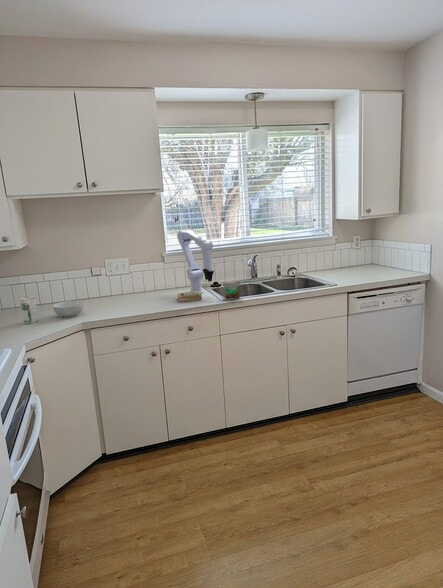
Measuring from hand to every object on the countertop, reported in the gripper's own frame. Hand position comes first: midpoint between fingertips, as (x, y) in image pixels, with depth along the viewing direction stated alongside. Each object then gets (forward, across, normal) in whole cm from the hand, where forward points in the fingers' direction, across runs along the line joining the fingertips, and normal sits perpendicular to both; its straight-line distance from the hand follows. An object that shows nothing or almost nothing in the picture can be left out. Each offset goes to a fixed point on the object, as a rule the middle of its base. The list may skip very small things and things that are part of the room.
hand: (208, 280), depth 265 cm
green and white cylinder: (+10, +17, -107) cm, 109 cm away
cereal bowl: (+10, +11, -87) cm, 88 cm away
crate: (+10, +4, -14) cm, 18 cm away
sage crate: (+10, +4, -14) cm, 17 cm away
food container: (+11, +13, +11) cm, 20 cm away
